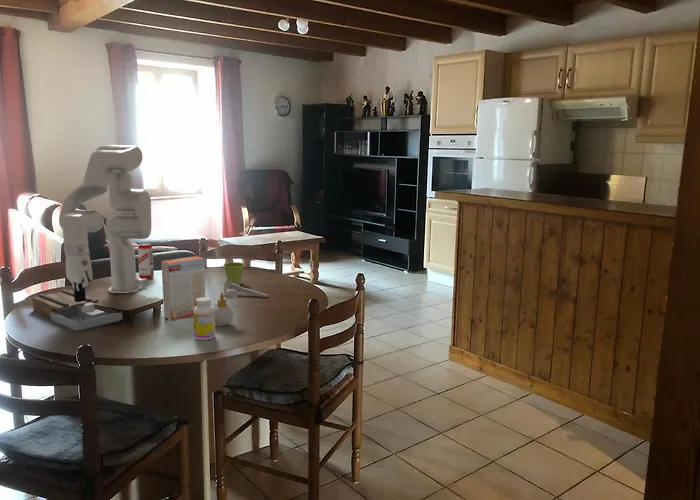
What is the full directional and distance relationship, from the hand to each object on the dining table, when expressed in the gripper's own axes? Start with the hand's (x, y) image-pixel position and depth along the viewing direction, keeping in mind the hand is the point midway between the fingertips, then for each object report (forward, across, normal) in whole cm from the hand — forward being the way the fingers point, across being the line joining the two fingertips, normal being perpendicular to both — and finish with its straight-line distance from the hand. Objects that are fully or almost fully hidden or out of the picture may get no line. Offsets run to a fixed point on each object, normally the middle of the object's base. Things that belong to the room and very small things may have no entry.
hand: (80, 300), depth 195 cm
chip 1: (+3, -2, 0) cm, 4 cm away
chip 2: (+3, -8, -1) cm, 8 cm away
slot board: (+6, +11, 0) cm, 13 cm away
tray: (+6, -4, 0) cm, 7 cm away
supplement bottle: (+6, -48, -16) cm, 51 cm away
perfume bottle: (+6, -42, -29) cm, 51 cm away
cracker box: (+6, -24, -26) cm, 36 cm away
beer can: (+7, +35, -48) cm, 60 cm away
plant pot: (+7, -1, -69) cm, 69 cm away
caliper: (+7, -20, -59) cm, 63 cm away
